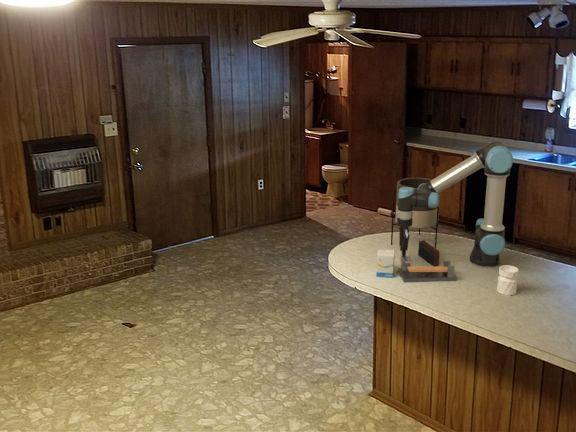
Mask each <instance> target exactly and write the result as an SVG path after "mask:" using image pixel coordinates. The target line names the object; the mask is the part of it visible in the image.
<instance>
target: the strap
mask: <svg viewBox="0 0 576 432" xmlns="http://www.w3.org/2000/svg"><path fill="white" fill-rule="evenodd" d="M408 270H409V272H447V266H446V267H443V266H437V267H433V266H429V265H428V266H421V265H420V266H416V265H415V266H411V265H410V266H408Z"/></svg>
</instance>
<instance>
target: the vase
mask: <svg viewBox="0 0 576 432" xmlns="http://www.w3.org/2000/svg"><path fill="white" fill-rule="evenodd" d="M519 274H520V270H519V268H518V267H517V266H514V265H508V264H506V265H501V266H499V267H498V276H497V286H496V292H497V291H498V292H499V293H501V294H505V295H511V294H514V293H516V294H517V288H518V278H517V277H518V276H519Z"/></svg>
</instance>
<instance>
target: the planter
mask: <svg viewBox="0 0 576 432" xmlns="http://www.w3.org/2000/svg"><path fill="white" fill-rule="evenodd" d="M431 180H433V179H431V178H425V177H406V178H402V179H399V180H398V181H397V183H396V204H395V202H392V213H391V215H392V216H391V235H390V245H391V246H392V245H393V241H394V239H393V238H394V237H393V236H394V234H393V233H394V226H398V225H397V218H398V213H397V212H398V195H399V189H400V188H402V187H412V188H413V189H414V192H417V189H418V187H419V185H421V184H423V183H428V182H429V181H431ZM440 196H441V192H440V193H438V206H437V207H436V208H426V207H413V217H412V219H413V220H412V226H410V227H408V229H417V230H418V229H419V230H418V236H421V229H422V230H423V229H432V230H435V235H434V237H435V239H434V248H436V249H437V243H438V240H437V239H438V227H439V225H438V224H439V212H440V210H439V209H440V198H441V197H440ZM394 213H395V214H394ZM394 215H395V219H394ZM394 220H395V222H396V223H394Z"/></svg>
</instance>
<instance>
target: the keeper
mask: <svg viewBox="0 0 576 432" xmlns="http://www.w3.org/2000/svg"><path fill="white" fill-rule="evenodd" d="M411 264H413V259H412V258H411V255H406V256H401V262H400V268H401V270H402V271H409V270H408V266H411Z"/></svg>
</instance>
